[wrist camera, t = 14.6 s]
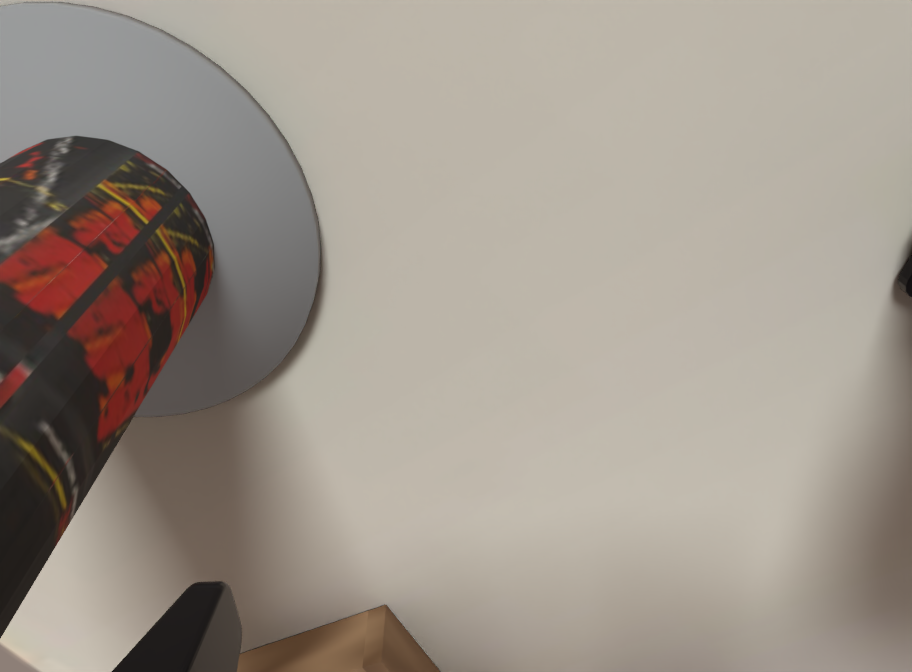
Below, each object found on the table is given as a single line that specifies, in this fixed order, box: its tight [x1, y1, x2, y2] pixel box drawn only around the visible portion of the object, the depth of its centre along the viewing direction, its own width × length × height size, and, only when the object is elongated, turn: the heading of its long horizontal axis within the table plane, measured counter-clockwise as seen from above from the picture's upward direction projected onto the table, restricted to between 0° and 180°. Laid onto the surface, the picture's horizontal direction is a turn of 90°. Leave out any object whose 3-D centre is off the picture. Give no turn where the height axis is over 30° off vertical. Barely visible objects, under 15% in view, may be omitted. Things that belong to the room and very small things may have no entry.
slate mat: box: [0, 2, 321, 417], centre depth 20 cm, size 12×12×1 cm
